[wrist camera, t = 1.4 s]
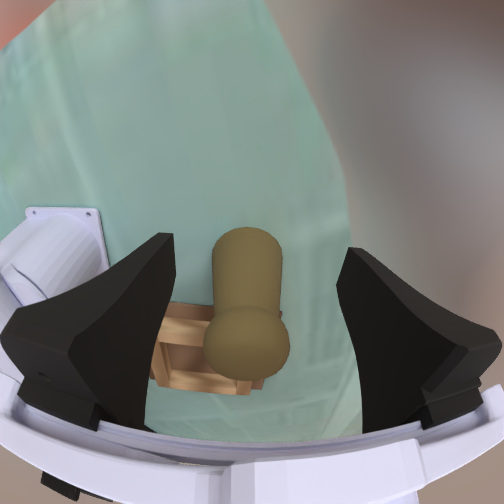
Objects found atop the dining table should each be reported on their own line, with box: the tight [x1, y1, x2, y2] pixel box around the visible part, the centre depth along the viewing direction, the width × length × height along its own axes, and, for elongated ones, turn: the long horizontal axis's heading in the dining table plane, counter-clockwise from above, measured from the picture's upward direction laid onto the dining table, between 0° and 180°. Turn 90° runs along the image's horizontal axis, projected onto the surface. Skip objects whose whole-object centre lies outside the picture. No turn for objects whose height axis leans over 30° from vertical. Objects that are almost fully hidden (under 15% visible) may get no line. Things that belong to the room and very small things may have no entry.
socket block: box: [149, 302, 282, 395], centre depth 30 cm, size 16×16×2 cm
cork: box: [203, 227, 290, 381], centre depth 19 cm, size 6×6×11 cm
